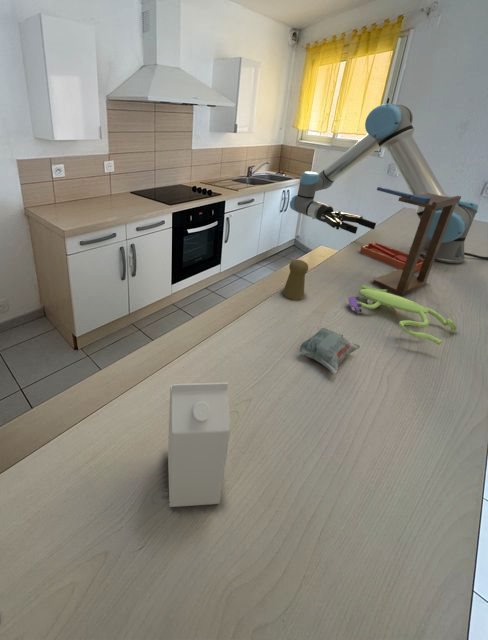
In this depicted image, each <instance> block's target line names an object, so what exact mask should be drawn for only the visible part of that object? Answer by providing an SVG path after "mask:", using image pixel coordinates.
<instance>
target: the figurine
mask: <svg viewBox="0 0 488 640" xmlns="http://www.w3.org/2000/svg"><path fill="white" fill-rule="evenodd" d="M358 292H359V294H361V295H362V296H363V297H365V298H367V301H366V302H367V303H364V302H362V301H360V300H361V298H360V297H359V296H349V297H347V299H348V303H349V306H350V310H351V311H353V312H355V313H356V314H361V313H362V309H361V308H362V307H364V308H366V309H370V310H374V309H377V308H379V307H380V306H382V305H383V306H386V307H389V308H390V309H391V310H392V311H393V312H394V313H395V314H396V315H399V313H398V311H397V310H400V311H403V312H407V313H414V314H418V315H419V317H420V318H421V320H422V322H421V321H416V320H410V319H409V320H408V319H407V320H400V321H399V322H398V325H399V327H400V328H401V329H402V331H404V332H405V333H407V334H408V335H409V336H411V337H415V338H420V339H426V340H429V341H431V342H433V343H435V345H438V346H441V345H442V343H443V341H442V340H441V339H439V338H438V337H436V336H434V335H433V334H432V335H431V334H429V333H426V332H421V331H420V332H419V331H413V330H408V328H406V327H405V326H413V327H414V326H415V327H419V328H425V327H428V326H429V325H430V321H429V318H428V316H427V314H430V315H432V316H433V317H434V318H436V320H438V321H439V322H440V323H441V324H442V325H443V326H449V327H450V333H455V332H456V331H457V326H456V324H455V323H454V321H453V319H451V318H447V319H445V318H444V317H443V316H442V315H440V314H439V313H438V312H436V311H435V310H433V309H431V308H429V307H426V306H423V305H422V304H419V303H417V302H416V301H413V300H410V299H407V298H405V297H403V296H402V297H401V296H399V295H396V294H394V293H391V292H388V290H387V289H383V288H382V289H380V288H375V287H371V286H368V285H365V284H363V285H361V289H359V290H358Z"/></svg>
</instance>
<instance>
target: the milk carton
mask: <svg viewBox="0 0 488 640" xmlns="http://www.w3.org/2000/svg"><path fill="white" fill-rule="evenodd" d="M228 386H229V383H228V382H198V383H197V382H196V383H195V382H194V383H172V384H171V385H170V386H169V415H168V416H169V417H168V443H167V444H168V445H167V450H168V451H167V463H168V464H167V466H168V467H167V469H168V473H167V474H168V506H169V508H177V507H191V506H193V507H195V506H207V505H208V506H209V505H219V504H221V499H222V491H223V485H224V477H225V469H226V462H227V455H228V450H229V449H228V447H229V441H230V434H231V422H230V408H229V395H228ZM169 502H170V503H169ZM171 503H172V504H171Z"/></svg>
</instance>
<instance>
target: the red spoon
mask: <svg viewBox="0 0 488 640" xmlns="http://www.w3.org/2000/svg"><path fill="white" fill-rule="evenodd" d="M374 243H375V242H369V243H368V245H369V246H371V247H373V248H375V249H377V250H379V251H381V252H383V253H385V254H386V255H388V256H390V257H392V258H393V257H395V256H396V255H395V254H393V253H391V252H389V251H388V250H386V249H384V248H382V247H380V246H378V245H376V244H374ZM395 259H396V260H398V261H401V262H403V263H406V260H407V257H405V256H401V255H397V256H396V258H395Z"/></svg>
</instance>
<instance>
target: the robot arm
mask: <svg viewBox="0 0 488 640" xmlns="http://www.w3.org/2000/svg"><path fill="white" fill-rule="evenodd" d="M413 119H414V116H413V112H412V111H411V109H410V108H409V107H407V105H406V106H405V105H403V104H395V103H392V102H391V103H390V102H389V103H384V104H380V105H377V106H376V107H374V108H373V109H372V110H371V111H370V112H369V113H368V115H367V117H366V119H365V122H364V128H365V131H366V133H367V134H366V135H365V136H363V137H362V138H361V139H359V140H358V141H357V142H356V143H354V144H353V145H351V147H350V148H348V149H347V150H346V151H345V152H344V153H342V154H341V155H340V156H339V157H337V158H336V159H335V160H334V161H332V162H331V163H330V164H329V165H328V166H326V167H325V168H324V169H323V170H322V171H320V172H319V173H317V172H316V171H315V172H314V171H302V173H301V177H300V179H299V185H298V191H297V194H296V195H293V196H292V197H291V200H290V202H289V207H290V209H291V210H292V211H294V212H296V213H299V214H302V215H304V216H306V217H307V216H308V217H310V218H312V220H318V221H320V222H322V223H325V224H327V225H328V226H330V227H331V228H333V229H335V230H338V231H339V230H340V229H341V230H343V231H345V232H349V233H351V234H354V235H356V234H357V231H358V226H356V225H353V224H352V223H355V224H358V225H360V226H362V227H365V228H368V229H371V230H375V228H376V225H377V222H374V221H371V220H368V219H366V218H364V217H363V215H357V214H351V213H347V212H343V211H341V210H340V211H334V208H333V207H332V206H331V205H328V204H326V203H322V202H319V201H316V200H314V198H315V195H316V192H319V191H323V190H326V189H328V188H330V187H331V186H332V185H333V184H334V183H335V182H336V181H337V180H339V179H340V178H341V177H342V176H343V175H345V174H347V172H349V171H350V170H351V169H353V168H355V166H357V165H358V164H359V163H361V162H362V161H364V160H365V159H367V158H368V157H369V156H370V155H371V154H373V153H375V151H377V150H378V149H379V148H380V149H384V150H386V151H387V153H388V155H389V156H390V158H391V160H392V161H393V162H392V163H394V165H395V167H396V169H397V170H398V173H399V174H400V176H401V178H402V180H403V182H404V183H405V185H406V187H407V188H408V191H409V192H410V194H411V195H413V194H418V193H423V192H427V193H431V194H436V195H440V196H445V197H452V196H451V195H448V194H446V192H445V191H444V189H443V187H442V185H441V183H440V182H439V180H438V179H437V177H436V175H435V173H434V172H433V170H432V168H431V166H430V165H429V163H428V161H427V159H426V157H425V155H424V154H423V153H422V151H421V149H420V147H419V146H418V144H417V142H416V140H415V138H414V137H413V134H414V133H415V132H414V131H415V128H414V126H413V124H412V123H413ZM424 208H425V207H421V206H417V209H416V211H415V213H416V214H417V217H418V218H419V221H420V220H421V217H422V214H423V211H424ZM442 209H443V208H439V209H436V212H435V215H434V218H433V220H432V223H431V226H430V229H429V231H428V234H427V237H426V240H425V242H424V245H423V248H422V251H421V253H420V256H423V257H424V258H425V255H426V253H427V250H428V247H429V245H430V242H431V239H432V236H433V234H434V231H435V228H436V226H437V223H438V220H439V217H440V215H441V212H442ZM478 210H479V204H478V203H476V202H473V201H470V200H465V199H464V200H463V199H460V201H459V203H457V204H456V205H455V208H454V210H453V213H452V216H451V218H450V221H449V223H448V226H447V229H446V231H445V234H444V236H443V239H442V242H441V244H440V247H439V250H438V252H437V255H436V257H435V260H434V262H435V261H436V262H439V263H444V264H448V265H449V264H451V265H458V264H459V265H460V264H462V263H463V261H464V260H465V256H467V257H473V258H476V259H480V260H488V256H482V255H478V254H474V253H470V252H465V242H466V238H467V236H468V233H469V231H470V228H471V226H472V224H473V221H474V219H475V216H476V214H477V213H478ZM347 222H348V223H347ZM350 223H351V224H350Z"/></svg>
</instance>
